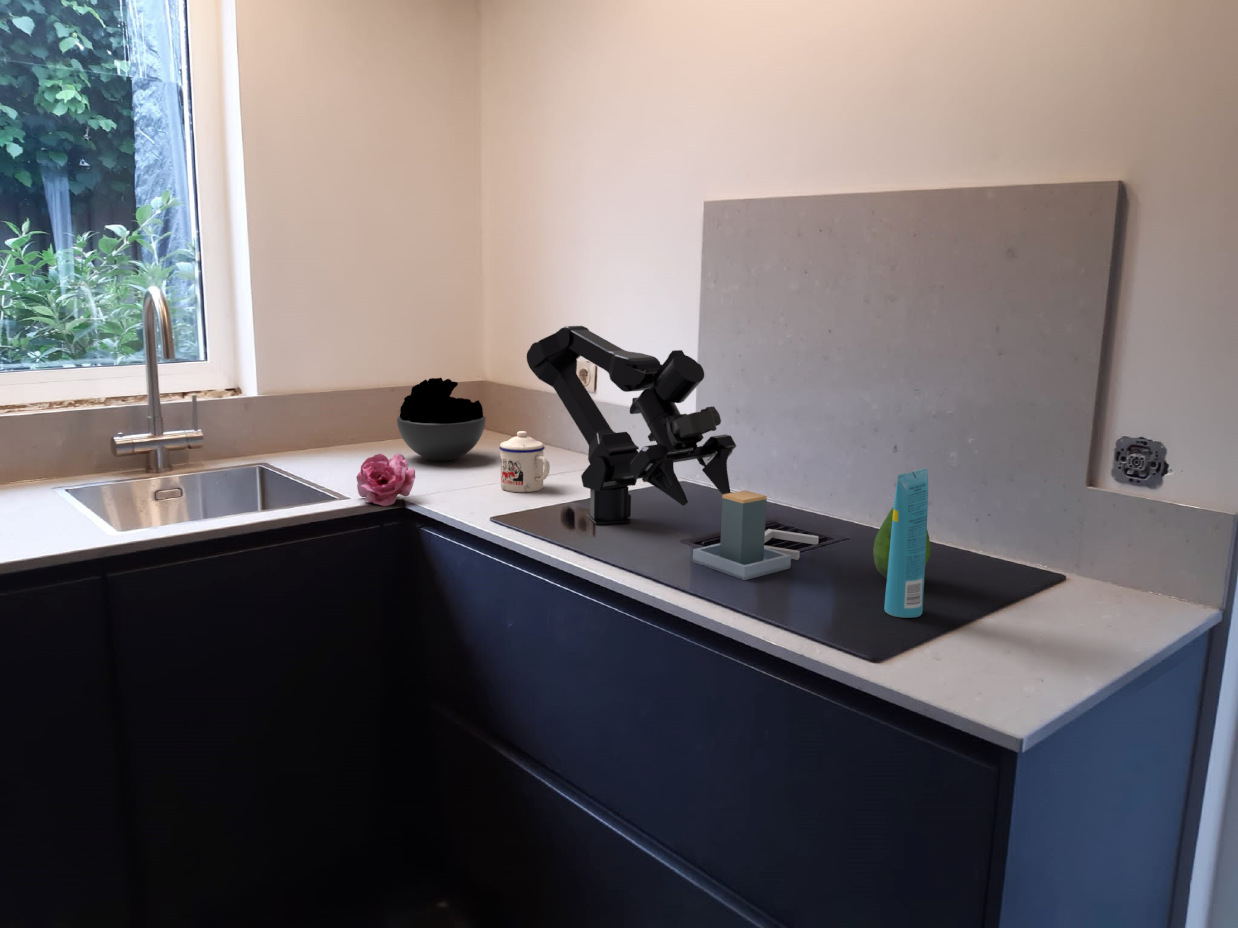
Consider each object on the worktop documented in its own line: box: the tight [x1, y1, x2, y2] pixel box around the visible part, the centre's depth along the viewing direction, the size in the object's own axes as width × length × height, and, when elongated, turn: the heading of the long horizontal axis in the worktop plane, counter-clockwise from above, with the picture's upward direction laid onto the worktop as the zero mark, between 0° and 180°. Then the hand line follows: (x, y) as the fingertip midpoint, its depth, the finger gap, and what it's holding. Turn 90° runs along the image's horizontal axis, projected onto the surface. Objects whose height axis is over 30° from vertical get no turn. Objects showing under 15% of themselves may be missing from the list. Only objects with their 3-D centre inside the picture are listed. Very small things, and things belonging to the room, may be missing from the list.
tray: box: [692, 542, 792, 581], centre depth 146 cm, size 11×10×2 cm
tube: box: [883, 467, 929, 619], centre depth 125 cm, size 7×5×19 cm, turn 140°
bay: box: [764, 528, 819, 561], centre depth 156 cm, size 9×11×1 cm
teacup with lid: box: [499, 430, 551, 493], centre depth 193 cm, size 12×9×12 cm
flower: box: [356, 452, 416, 507], centre depth 182 cm, size 11×10×10 cm
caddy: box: [719, 489, 768, 565], centre depth 145 cm, size 4×5×10 cm
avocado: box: [872, 506, 931, 579], centre depth 139 cm, size 8×8×12 cm
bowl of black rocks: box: [396, 377, 486, 462], centre depth 220 cm, size 20×20×19 cm
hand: (707, 499), depth 151 cm, fingers open, 9 cm apart
